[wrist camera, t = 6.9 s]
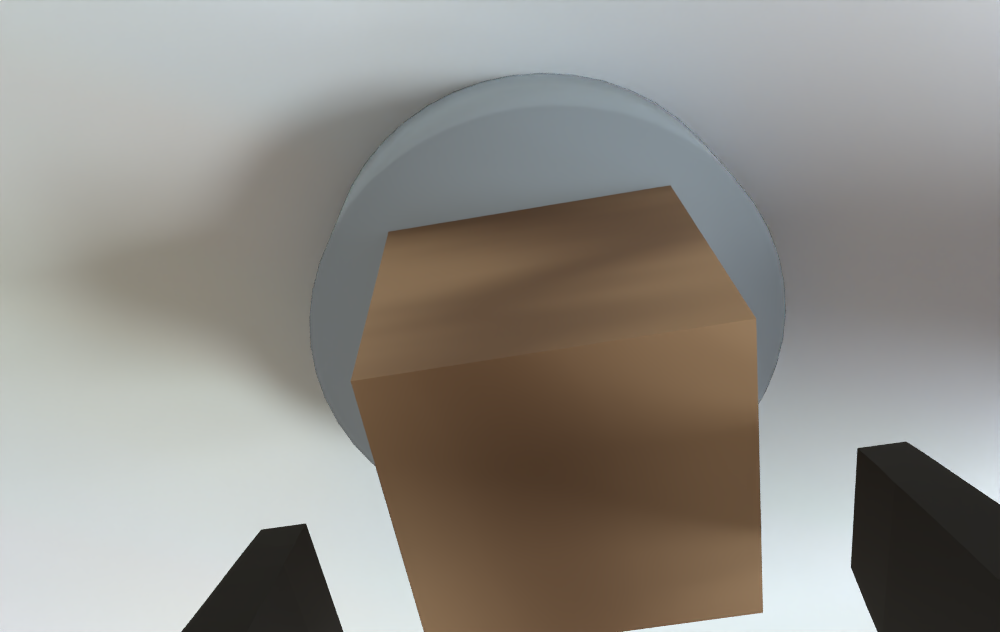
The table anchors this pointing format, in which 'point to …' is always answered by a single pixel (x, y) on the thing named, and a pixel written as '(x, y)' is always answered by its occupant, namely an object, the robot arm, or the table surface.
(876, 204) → the table surface
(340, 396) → the platform
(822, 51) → the table surface
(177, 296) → the table surface
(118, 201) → the table surface
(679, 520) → the cube
